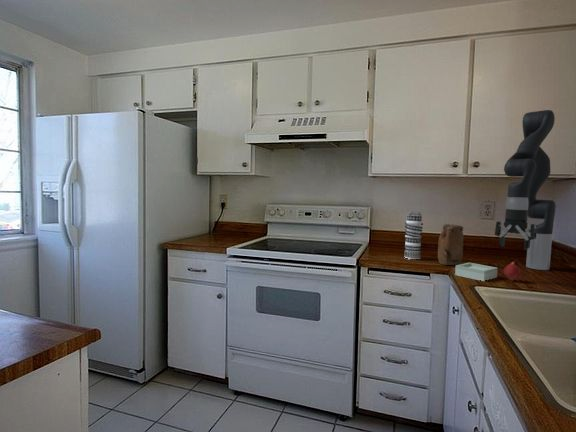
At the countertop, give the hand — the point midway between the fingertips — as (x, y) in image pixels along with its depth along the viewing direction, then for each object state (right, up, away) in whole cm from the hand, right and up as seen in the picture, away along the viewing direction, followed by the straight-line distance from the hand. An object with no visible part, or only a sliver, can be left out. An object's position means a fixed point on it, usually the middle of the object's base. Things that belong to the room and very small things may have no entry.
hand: (513, 247), depth 140 cm
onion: (0, -14, +1) cm, 14 cm away
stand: (-11, -13, +8) cm, 19 cm away
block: (-12, -11, +31) cm, 35 cm away
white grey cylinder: (-26, -10, +44) cm, 52 cm away
